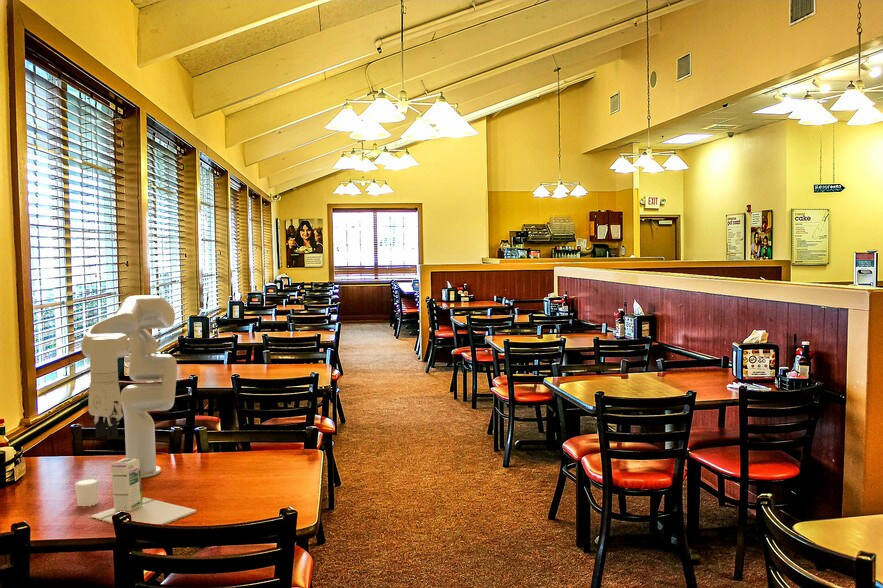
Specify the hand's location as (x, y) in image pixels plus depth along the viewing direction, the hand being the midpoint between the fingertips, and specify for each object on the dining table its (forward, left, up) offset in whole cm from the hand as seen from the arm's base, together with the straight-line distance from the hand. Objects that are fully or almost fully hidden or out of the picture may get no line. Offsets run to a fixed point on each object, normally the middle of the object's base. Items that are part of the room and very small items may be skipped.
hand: (107, 436), depth 217 cm
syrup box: (+9, 0, -21) cm, 23 cm away
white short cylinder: (-8, -2, -22) cm, 23 cm away
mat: (+16, 0, -21) cm, 27 cm away
